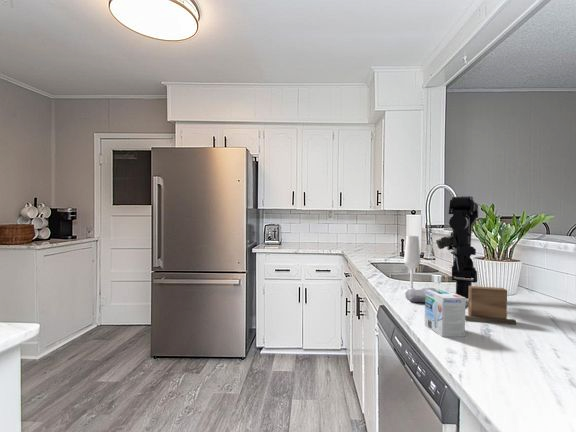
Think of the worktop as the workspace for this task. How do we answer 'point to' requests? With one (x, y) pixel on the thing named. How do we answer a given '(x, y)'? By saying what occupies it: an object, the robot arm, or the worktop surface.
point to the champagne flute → (412, 256)
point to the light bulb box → (445, 313)
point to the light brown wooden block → (487, 302)
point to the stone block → (417, 294)
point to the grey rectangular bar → (490, 320)
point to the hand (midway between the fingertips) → (460, 271)
